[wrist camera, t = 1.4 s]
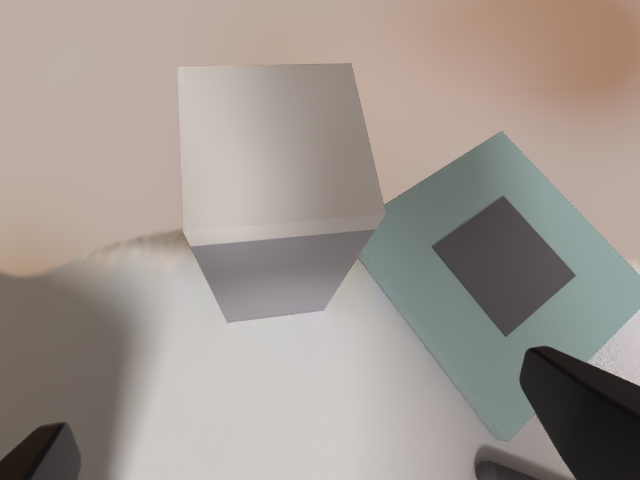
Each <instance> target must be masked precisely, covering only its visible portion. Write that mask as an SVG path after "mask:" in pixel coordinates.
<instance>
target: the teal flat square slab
mask: <svg viewBox="0 0 640 480" xmlns="http://www.w3.org/2000/svg"><path fill="white" fill-rule="evenodd" d="M384 208H385V212H386V214H385V216H384V217H383V219H382V221H381V222H380V224H379V225H378V227H377V228H376V230H375V231H374V233H373V234H372V236H371V238H370V239H369V241H368V242H367V244H366V245H365V247H364V248H363V250H362V251H361V253H360V255H359V256H358V258H359V259H360V261H361V262H362V263H363V265H364V266H365V267H366V269H367V270H368V271H369V272H370V274H371V275H372V276H373V278H374V279H375V280H376V282H377V283H378V284H379V286H380V287H381V288H382V290H383V291H384V292H385V294H386V295H387V296H388V297H389V299H390V300H391V301H392V303H393V304H394V305H395V307H396V308H397V309H398V311H399V312H400V313H401V315H402V316H403V317H404V319H405V320H406V321H407V322H408V324H409V325H410V326H411V328H412V329H413V330H414V332H415V333H416V334H417V336H418V337H419V338H420V340H421V341H422V342H423V344H424V345H425V346H426V347H427V349H428V350H429V351H430V353H431V354H432V355H433V357H434V358H435V359H436V361H437V362H438V363H439V365H440V366H441V367H442V369H443V370H444V371H445V372H446V374H447V375H448V376H449V378H450V379H451V380H452V382H453V383H454V384H455V386H456V387H457V388H458V390H459V391H460V392H461V394H462V395H463V396H464V397H465V399H466V400H467V401H468V403H469V404H470V405H471V407H472V408H473V409H474V411H475V412H476V413H477V415H478V416H479V417H480V419H481V420H482V421H483V422H484V424H485V425H486V426H487V428H488V429H489V430H490V432H491V433H492V434H493V436H494V437H495V438H496V439H497V440H503V441H508V440H509V439H510V438H511V437H512V436H513V435H514V434H515V433H516V432H517V431H518V430H519V429H520V428H521V427H522V426H523V425H524V424H525V423H526V422H527V421H528V420H529V419H530V418H531V417H532V416H533V415H534V414H535V411H534V410H533V408H532V406H531V405H530V403H529V401H528V399H527V398H526V396H525V394H524V392H523V391H522V388H521V386H520V382H519V376H520V371H521V367H522V363H523V359H524V355H525V352H526V350H527V349H529V348H531V347H538V346H549V347H552V348H554V349H556V350H559V351H561V352H563V353H565V354H568V355H570V356H572V357H575V358H577V359H579V360H581V361H584V362H587V361H588V360H589V359H590V358H591V357H592V356H593V355H594V354H595V353H596V352H597V351H598V350H599V349H600V348H601V347H602V346H603V345H604V344H605V343H606V342H607V341H608V340H609V339H610V338H611V337H612V336H613V335H614V334H615V333H616V332H617V331H618V330H619V329H620V328H621V327H622V326H623V325H624V324H625V323H626V322H627V321H628V320H629V319H630V318H631V317H632V316H633V315H634V314H635V313H636V312H637V311H638V310H639V309H640V275H639V274H638V273H637V272H636V271H635V270H634V269H633V268H632V267H631V266H630V265H629V264H628V263H627V262H626V260H625V259H624V258H623V257H622V256H621V255H620V254H619V253H618V252H617V251H616V250H615V249H614V248H613V247H612V246H611V245H610V244H609V243H608V242H607V241H606V240H605V239H604V238H603V236H601V234H600V233H599V232H598V231H597V230H596V229H595V228H594V227H593V226H592V225H591V224H590V223H589V222H588V221H587V220H586V219H585V218H584V217H583V216H582V214H580V213H579V211H578V210H577V209H576V208H575V207H574V206H573V205H572V204H571V203H570V202H569V201H568V200H567V199H566V198H565V197H564V196H563V195H562V194H561V193H560V191H559V190H558V189H557V188H556V187H555V186H554V185H553V184H552V183H551V182H550V181H549V180H548V179H547V178H546V177H545V176H544V175H543V174H542V173H541V172H540V171H539V170H538V168H537V167H536V166H535V165H534V164H533V163H532V162H531V161H530V160H529V159H528V158H527V157H526V156H525V155H524V154H523V153H522V152H521V151H520V150H519V149H518V148H517V147H516V145H515V144H514V143H513V142H511V140H510V139H509V138H508V137H507V136H506V135H505V134H504V133H503V132H502V131H501V132H499V133H498V134H496V135H495V136H493V137H491V138H490V139H488V140H486V141H485V142H483V143H482V144H480V145H479V146H477V147H475V148H474V149H472V150H471V151H469V152H467V153H466V154H464V155H463V156H461V157H459V158H458V159H456V160H455V161H453V162H452V163H450V164H448V165H447V166H445V167H444V168H442V169H440V170H439V171H438V172H436V173H434V174H432V175H431V176H429V177H428V178H426V179H425V180H423V181H421V182H420V183H418V184H417V185H415V186H414V187H412V188H411V189H409V190H407V191H406V192H404V193H403V194H401V195H399V196H398V197H396V198H394V199H393V200H391V201H390V202H388V203H387V204H385V205H384Z"/></svg>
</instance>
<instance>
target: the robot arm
mask: <svg viewBox="0 0 640 480" xmlns="http://www.w3.org/2000/svg"><path fill="white" fill-rule="evenodd" d="M519 382H520V386H521V388H522V391H523V392H524V394H525V396H526V398H527V399H528V401H529V403H530V405H531V406H532V408H533V410H534V411H535V413H536V415H537V417H538V418H539V420H540V422H541V424H542V425H543V427H544V429H545V431H546V432H547V434H548V436H549V438H550V439H551V441H552V443H553V444H554V446H555V448H556V449H557V451H558V453H559V454H560V456H561V458H562V459H563V461H564V462H565V464H566V465H567V467H568V468H569V470H570V471H571V473H572V474H573V475H574V477H575V478H576V480H640V386H638V385H636V384H634V383H631V382H629V381H627V380H625V379H622V378H620V377H618V376H615V375H613V374H611V373H609V372H606V371H604V370H602V369H600V368H597V367H595V366H593V365H590V364H588V363H586V362H584V361H581V360H579V359H577V358H575V357H572V356H570V355H568V354H565V353H563V352H561V351H559V350H556V349H554V348H552V347H549V346H538V347H531V348H529V349H527V350H526V352H525V355H524V359H523V363H522V367H521V371H520V376H519ZM80 467H81V455H80V451H79V449H78V446H77V443H76V441H75V438H74V435H73V433H72V430H71V427H70V426H69V424H68V423H66V422H59V423H53V424H46V425H42V426H40V427H38V428H37V429H35V430H34V431H33V432H32V433H31V434H30V435H29V436H28V437H26V438H25V439H24V440H23V441H22V442H21V443H20V444H19V445H17V446H16V447H15V448H14V449H13V450H12V451H11V452H10V453H9V454H7V455H6V456H5V457H4V458H3V459H2V460H1V461H0V480H78V477H79V472H80Z"/></svg>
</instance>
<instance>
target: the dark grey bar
mask: <svg viewBox="0 0 640 480" xmlns="http://www.w3.org/2000/svg"><path fill="white" fill-rule="evenodd" d="M476 477H477V480H538V479H535V478H533V477H530V476H528V475H525V474H522V473H520V472H517V471H514V470H512V469H509V468H507V467H504V466H501V465H499V464H496V463H493V462H490V461H484V462H481V463H480V464H479V465H478V467H477V469H476Z"/></svg>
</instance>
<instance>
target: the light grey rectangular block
mask: <svg viewBox="0 0 640 480" xmlns="http://www.w3.org/2000/svg"><path fill="white" fill-rule="evenodd" d="M178 95H179V125H180V126H179V127H180V155H181V187H182V217H183V233H184V235H185V237H186V239H187V241H188V243H189V245H190V247H191V249H192V251H193V253H194V255H195V257H196V259H197V261H198V263H199V265H200V267H201V270H202V272H203V274H204V276H205V278H206V280H207V282H208V284H209V286H210V288H211V290H212V292H213V294H214V296H215V298H216V300H217V302H218V304H219V306H220V308H221V310H222V313H223V315H224V317H225V319H226V321H227V323H229V322H237V321H245V320H253V319H260V318H268V317H276V316H284V315H292V314H300V313H308V312H316V311H323V310H324V309H325V307H326V306H327V304H328V302H329V301H330V299H331V298H332V296H333V295H334V293H335V292H336V290H337V289H338V287H339V285H340V284H341V282H342V281H343V279H344V278H345V276H346V275H347V273H348V272H349V270H350V268H351V267H352V265H353V264H354V262H355V261H356V259H357V258H358V256H359V255H360V253H361V251H362V250H363V248H364V247H365V245H366V244H367V242H368V241H369V239H370V238H371V236H372V234H373V233H374V231H375V230H376V228H377V227H378V225H379V224H380V222H381V221H382V219H383V217H384V216H385V214H386V212H385V208H384V204H383V199H382V195H381V191H380V186H379V182H378V178H377V174H376V169H375V165H374V161H373V156H372V152H371V147H370V143H369V139H368V134H367V130H366V126H365V121H364V117H363V113H362V108H361V104H360V99H359V95H358V91H357V86H356V82H355V78H354V73H353V69H352V65H351V64H300V65H299V64H298V65H250V66H249V65H245V66H192V67H178Z"/></svg>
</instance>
